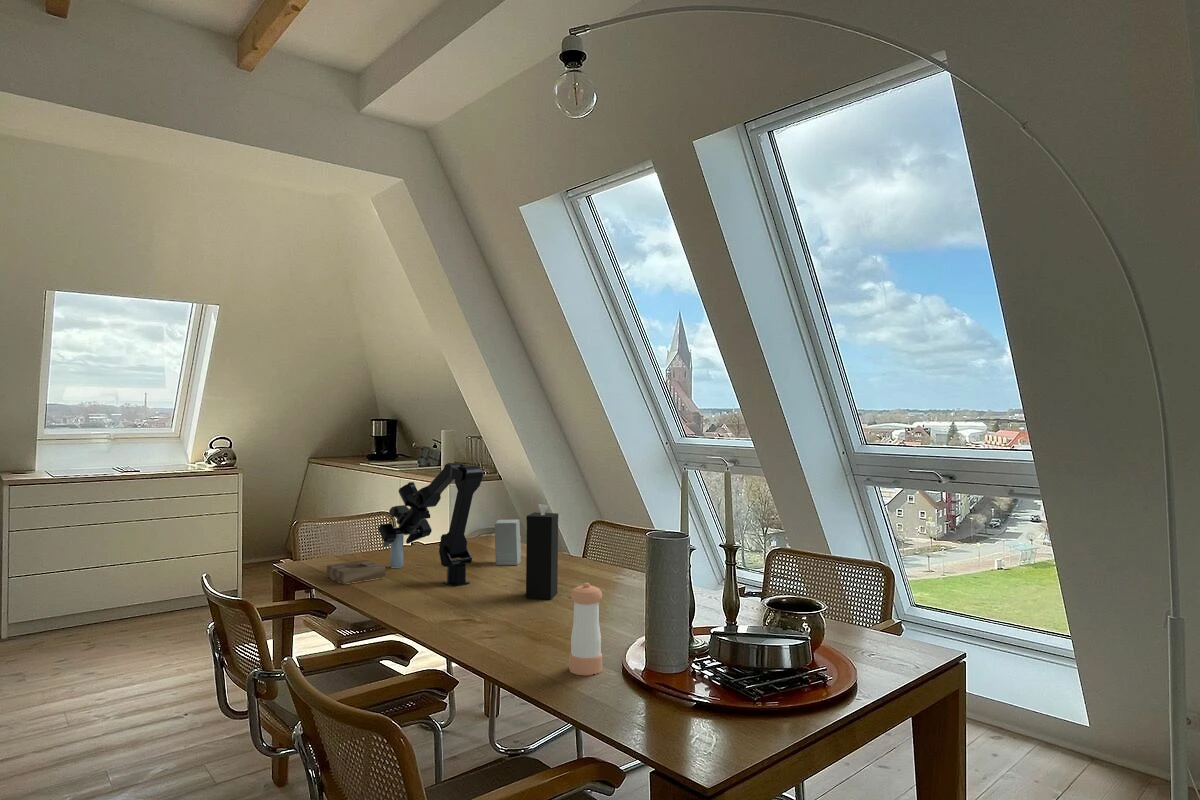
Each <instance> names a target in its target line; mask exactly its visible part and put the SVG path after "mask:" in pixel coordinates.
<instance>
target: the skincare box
mask: <svg viewBox="0 0 1200 800" xmlns="http://www.w3.org/2000/svg"><path fill="white" fill-rule="evenodd" d="M520 522H521V521H520V519H498V520H496V522H494V544H495V545H494V546H495V547H494V548H495V549H494V550H495V552H494V553H495V565H496V566H518V565H519V564H520V563H521V561H522V555H521V554H522V553H521V526H520V525H521V524H520Z"/></svg>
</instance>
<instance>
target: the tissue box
mask: <svg viewBox="0 0 1200 800" xmlns="http://www.w3.org/2000/svg"><path fill="white" fill-rule="evenodd" d="M537 504H538V509H539V512H533V513H530V514H527V515H526V549H525V550H526V551H525V552H526V558H525V560H526V563H525V564H526V566H525V568H526V570H525V598H528V599H539V600H552V599H553V598H554V597H556V595H557V594H558V571H559V569H558V565H559V564H558V563H559V561H558V560H559V559H558V557H559V556H558V554H559V553H558V552H559V513H558V512H556V513H555V512H546V511H547V509H548V507H549V505H547V504H543V503H542V504H541V503H537Z"/></svg>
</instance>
